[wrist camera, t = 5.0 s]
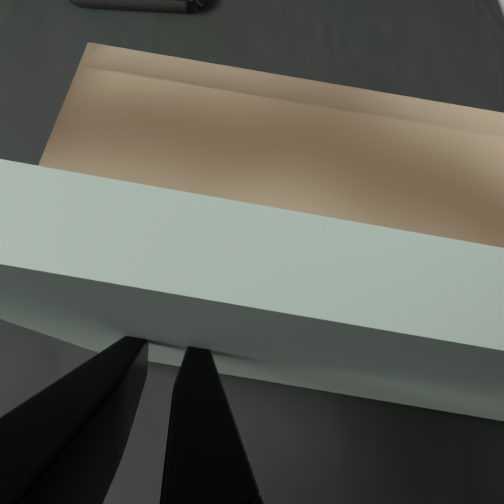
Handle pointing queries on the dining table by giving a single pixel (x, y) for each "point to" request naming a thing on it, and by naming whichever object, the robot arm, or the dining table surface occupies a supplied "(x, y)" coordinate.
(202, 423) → the robot arm
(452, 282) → the flap
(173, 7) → the phone
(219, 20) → the dining table surface
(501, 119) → the crate
